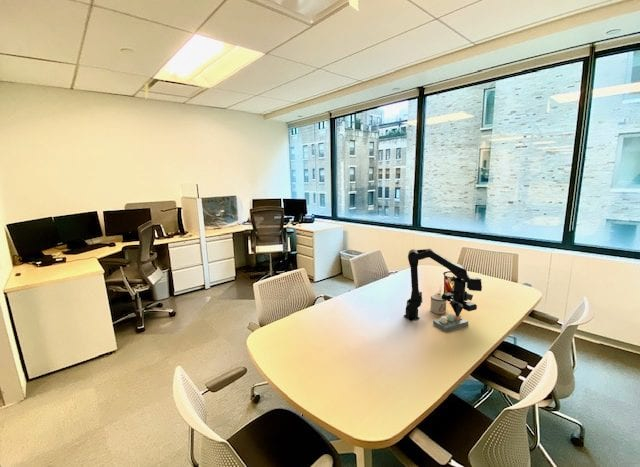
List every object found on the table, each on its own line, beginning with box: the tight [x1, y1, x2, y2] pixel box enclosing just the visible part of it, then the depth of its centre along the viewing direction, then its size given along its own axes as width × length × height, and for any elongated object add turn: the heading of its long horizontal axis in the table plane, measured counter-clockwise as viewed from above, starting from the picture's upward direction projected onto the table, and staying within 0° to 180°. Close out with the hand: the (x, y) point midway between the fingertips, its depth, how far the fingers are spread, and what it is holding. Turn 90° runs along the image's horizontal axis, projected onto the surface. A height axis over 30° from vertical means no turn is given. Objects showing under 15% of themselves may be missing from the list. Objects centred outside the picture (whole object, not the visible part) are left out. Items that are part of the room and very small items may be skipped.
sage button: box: [447, 313, 455, 323], centre depth 160 cm, size 3×3×4 cm
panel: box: [432, 315, 469, 333], centre depth 160 cm, size 16×9×2 cm, turn 113°
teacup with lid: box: [430, 291, 447, 315], centre depth 177 cm, size 12×9×12 cm
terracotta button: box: [453, 314, 462, 321], centre depth 162 cm, size 3×3×4 cm
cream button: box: [440, 315, 447, 325], centre depth 158 cm, size 3×3×4 cm
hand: (457, 316), depth 162 cm, fingers closed, pressing on terracotta button
